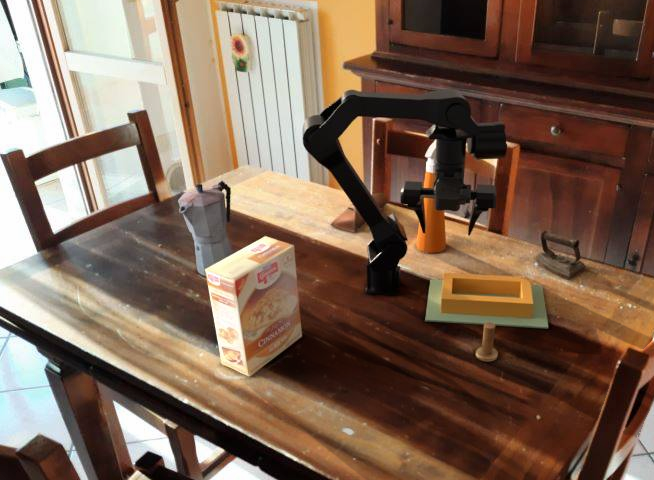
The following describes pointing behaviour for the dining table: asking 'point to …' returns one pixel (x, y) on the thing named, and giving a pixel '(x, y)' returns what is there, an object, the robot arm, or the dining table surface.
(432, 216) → the spray bottle
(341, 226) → the sunglasses case
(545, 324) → the mat
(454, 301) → the rectangular frame
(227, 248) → the moka pot
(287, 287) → the coffeecake box
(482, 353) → the peg stand
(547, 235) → the clothes iron
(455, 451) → the dining table surface
